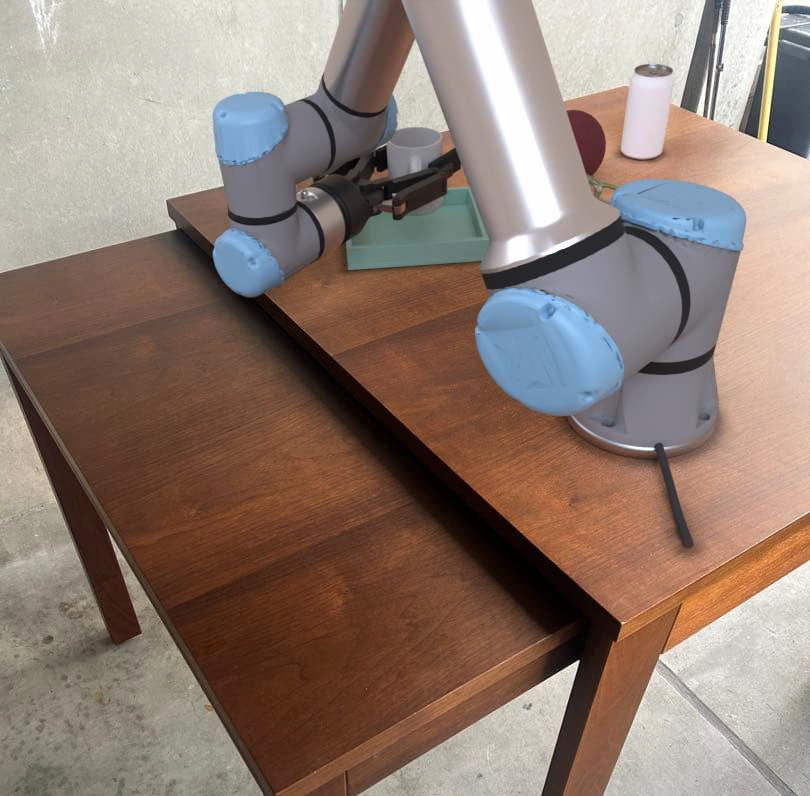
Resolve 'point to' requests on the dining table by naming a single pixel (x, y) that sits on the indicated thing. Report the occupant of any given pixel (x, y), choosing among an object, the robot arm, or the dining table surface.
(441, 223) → the tray
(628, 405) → the robot arm
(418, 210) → the cup
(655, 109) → the can
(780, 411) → the dining table surface
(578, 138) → the decorative ball
